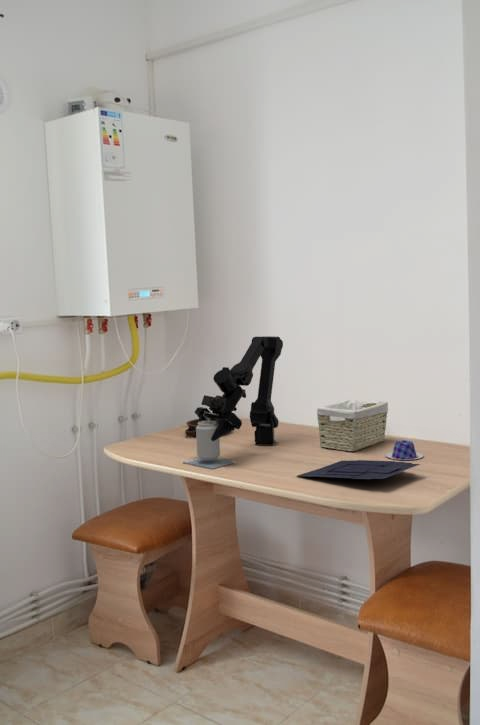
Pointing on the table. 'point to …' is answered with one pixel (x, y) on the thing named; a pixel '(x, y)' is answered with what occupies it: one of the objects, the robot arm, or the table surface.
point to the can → (207, 440)
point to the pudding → (404, 451)
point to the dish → (194, 427)
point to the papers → (361, 469)
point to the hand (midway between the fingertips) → (204, 438)
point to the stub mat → (208, 463)
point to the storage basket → (352, 424)
